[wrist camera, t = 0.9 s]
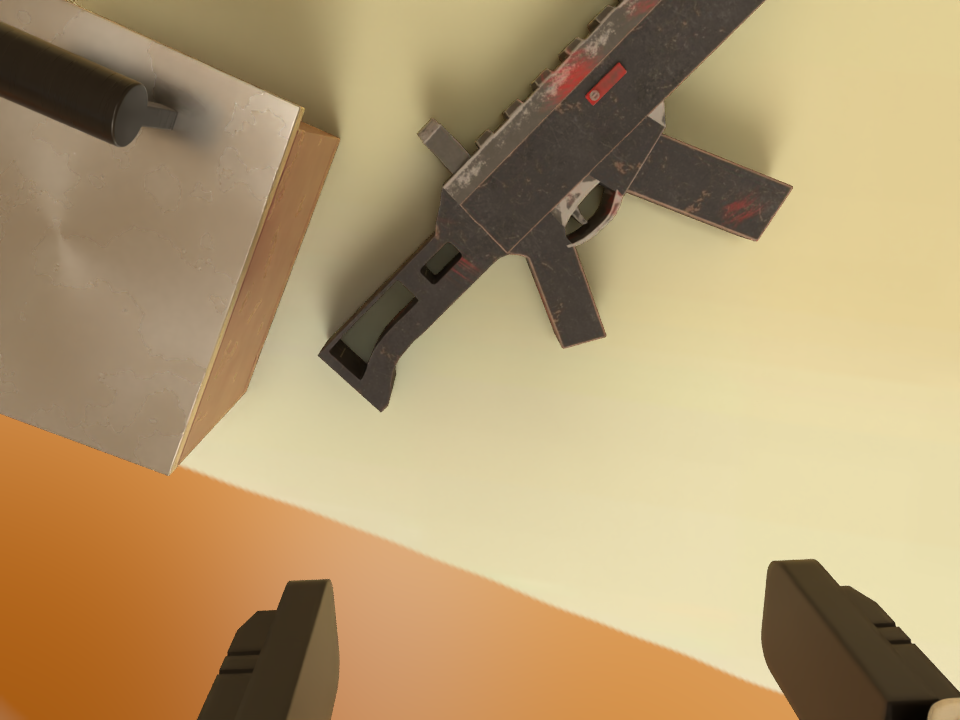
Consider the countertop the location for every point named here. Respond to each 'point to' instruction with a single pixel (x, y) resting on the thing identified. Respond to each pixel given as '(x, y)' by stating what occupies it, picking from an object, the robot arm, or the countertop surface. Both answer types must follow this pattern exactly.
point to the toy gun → (571, 176)
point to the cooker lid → (122, 225)
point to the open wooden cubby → (265, 277)
